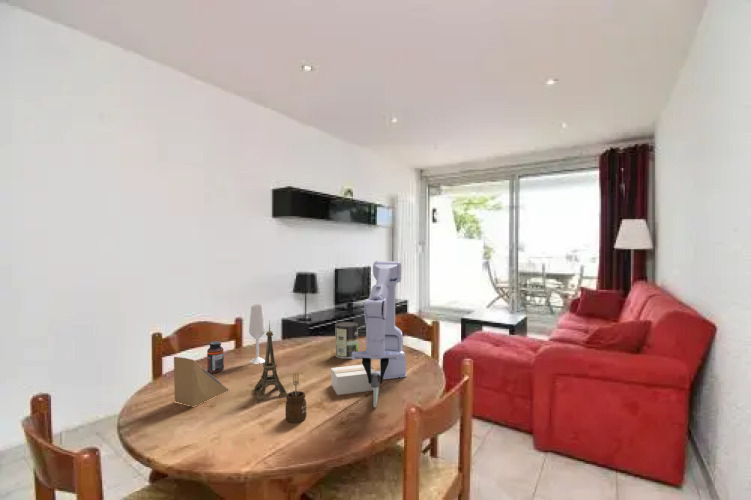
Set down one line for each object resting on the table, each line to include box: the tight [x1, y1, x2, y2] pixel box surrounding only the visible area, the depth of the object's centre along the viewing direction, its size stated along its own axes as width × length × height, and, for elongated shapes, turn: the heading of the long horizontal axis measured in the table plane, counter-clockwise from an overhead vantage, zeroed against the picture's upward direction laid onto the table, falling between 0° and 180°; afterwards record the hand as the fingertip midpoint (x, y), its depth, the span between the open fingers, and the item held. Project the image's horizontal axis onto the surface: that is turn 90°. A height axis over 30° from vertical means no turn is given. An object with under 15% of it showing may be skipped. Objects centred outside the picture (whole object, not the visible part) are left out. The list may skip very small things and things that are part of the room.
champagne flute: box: [248, 303, 267, 365], centre depth 162 cm, size 7×7×24 cm
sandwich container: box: [173, 356, 230, 406], centre depth 126 cm, size 9×15×15 cm, turn 156°
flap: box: [371, 371, 380, 408], centre depth 123 cm, size 14×3×10 cm, turn 176°
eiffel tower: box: [251, 319, 289, 403], centre depth 128 cm, size 11×11×25 cm
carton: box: [330, 364, 377, 396], centre depth 134 cm, size 14×10×6 cm
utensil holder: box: [284, 373, 307, 423], centre depth 110 cm, size 6×6×12 cm
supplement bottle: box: [206, 340, 225, 373], centre depth 151 cm, size 6×6×11 cm
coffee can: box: [334, 321, 359, 360], centre depth 171 cm, size 10×10×14 cm
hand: (375, 382), depth 118 cm, fingers open, 3 cm apart
